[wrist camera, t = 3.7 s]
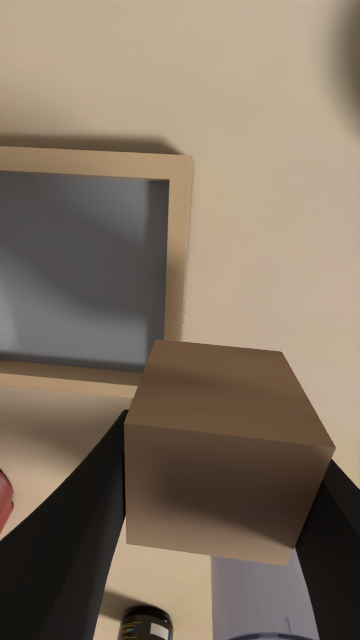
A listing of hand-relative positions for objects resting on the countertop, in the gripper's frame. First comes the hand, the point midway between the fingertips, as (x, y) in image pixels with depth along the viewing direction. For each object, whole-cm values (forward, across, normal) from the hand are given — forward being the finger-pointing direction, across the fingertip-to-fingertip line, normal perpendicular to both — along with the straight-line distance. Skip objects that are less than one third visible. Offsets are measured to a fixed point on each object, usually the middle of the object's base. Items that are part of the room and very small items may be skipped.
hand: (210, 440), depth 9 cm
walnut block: (+2, 0, 0) cm, 2 cm away
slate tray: (+8, +9, -3) cm, 12 cm away
